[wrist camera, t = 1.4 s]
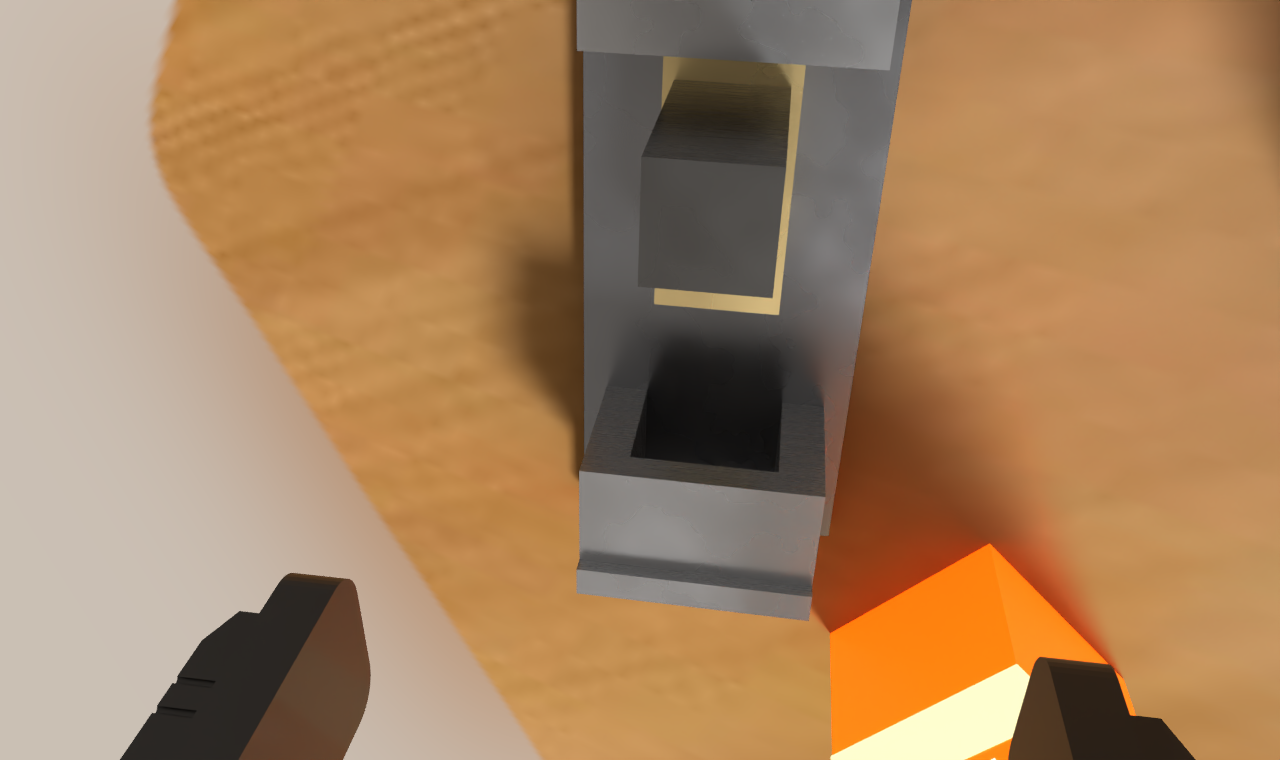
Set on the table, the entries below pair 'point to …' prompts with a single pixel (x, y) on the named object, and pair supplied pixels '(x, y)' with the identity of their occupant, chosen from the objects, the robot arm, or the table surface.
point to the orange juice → (945, 665)
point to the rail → (726, 313)
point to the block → (720, 184)
